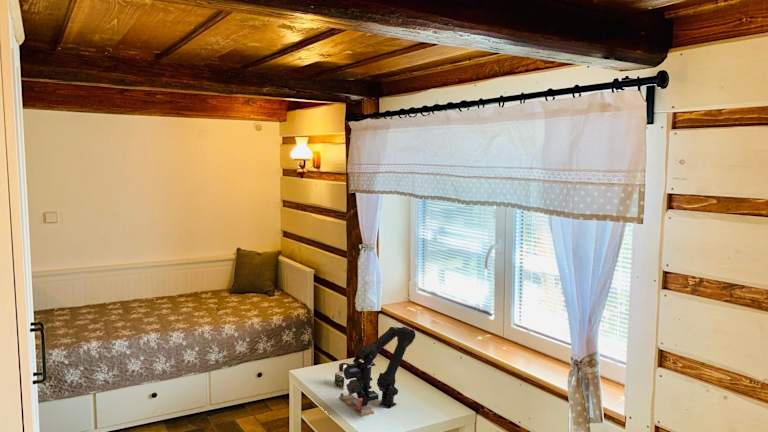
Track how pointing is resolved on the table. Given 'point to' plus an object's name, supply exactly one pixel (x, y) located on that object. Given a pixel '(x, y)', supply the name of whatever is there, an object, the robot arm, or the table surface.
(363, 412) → the plank
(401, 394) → the table surface
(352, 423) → the table surface
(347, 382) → the cream yellow box
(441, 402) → the table surface
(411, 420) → the table surface
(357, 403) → the tab
